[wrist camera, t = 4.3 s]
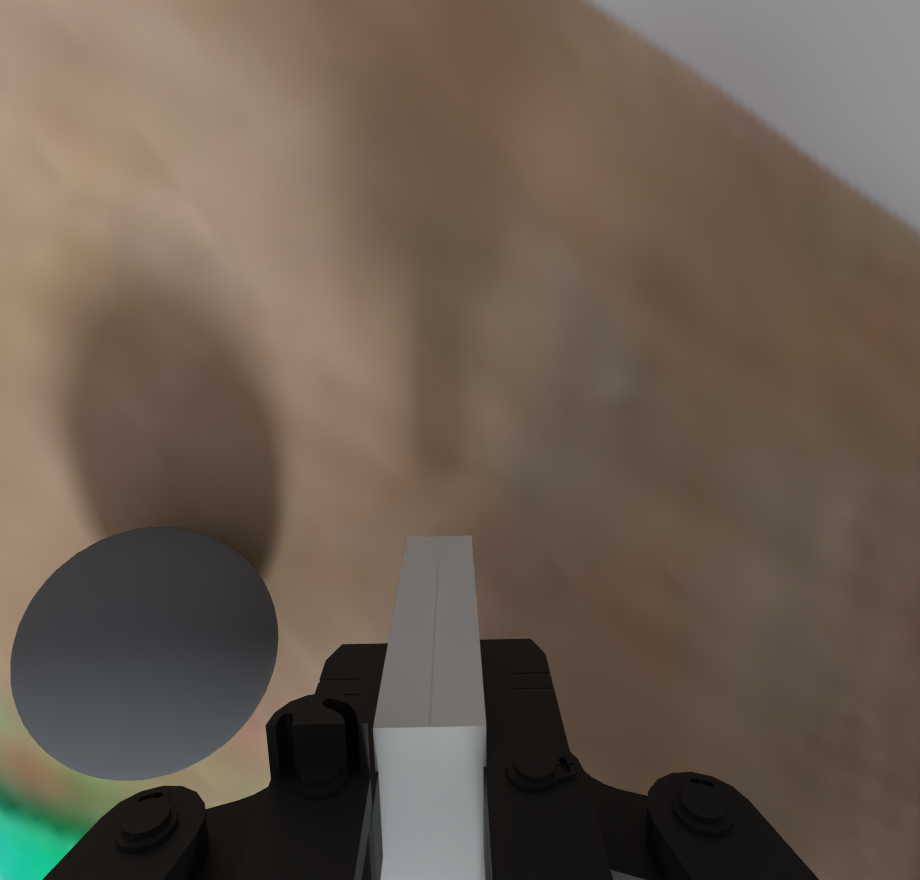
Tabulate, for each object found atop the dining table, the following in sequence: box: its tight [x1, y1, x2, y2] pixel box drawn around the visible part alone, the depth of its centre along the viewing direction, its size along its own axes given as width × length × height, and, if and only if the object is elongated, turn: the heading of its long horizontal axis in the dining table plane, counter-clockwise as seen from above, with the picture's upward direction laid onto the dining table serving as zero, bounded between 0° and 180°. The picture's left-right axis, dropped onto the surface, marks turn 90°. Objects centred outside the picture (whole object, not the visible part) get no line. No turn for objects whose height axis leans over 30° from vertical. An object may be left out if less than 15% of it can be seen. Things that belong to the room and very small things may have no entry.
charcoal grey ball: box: [11, 527, 278, 780], centre depth 15 cm, size 6×6×6 cm
